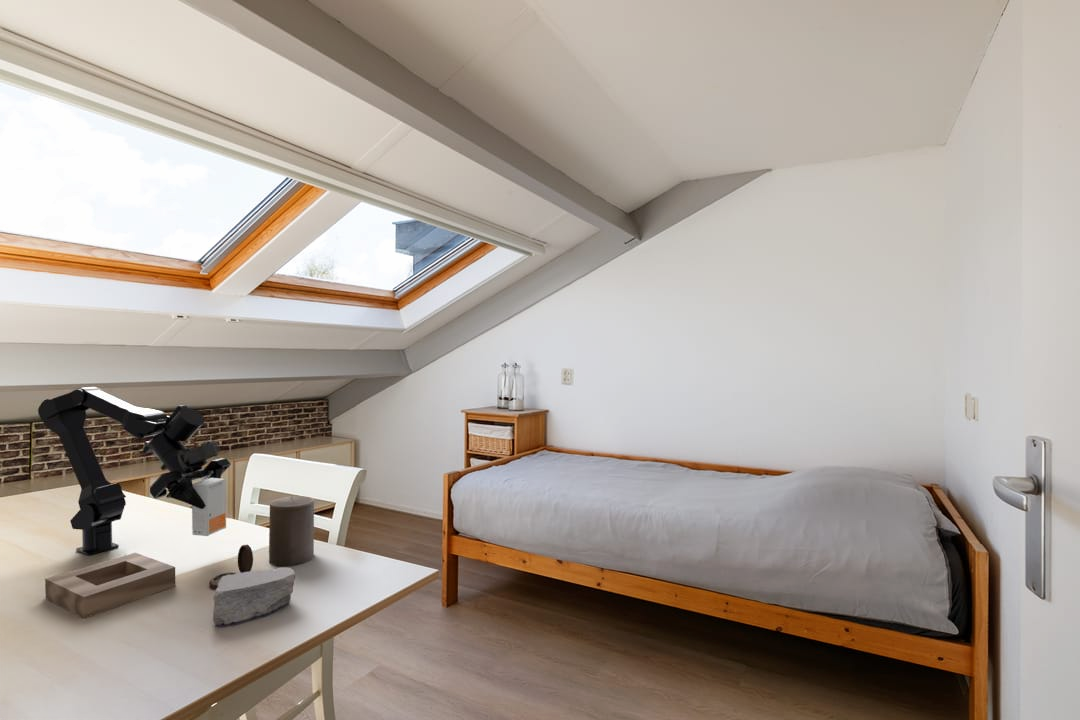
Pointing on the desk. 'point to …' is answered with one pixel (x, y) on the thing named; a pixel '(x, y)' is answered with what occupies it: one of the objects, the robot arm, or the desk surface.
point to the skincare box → (210, 507)
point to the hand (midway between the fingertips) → (214, 503)
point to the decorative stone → (252, 595)
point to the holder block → (109, 584)
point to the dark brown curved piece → (243, 563)
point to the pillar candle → (291, 530)
